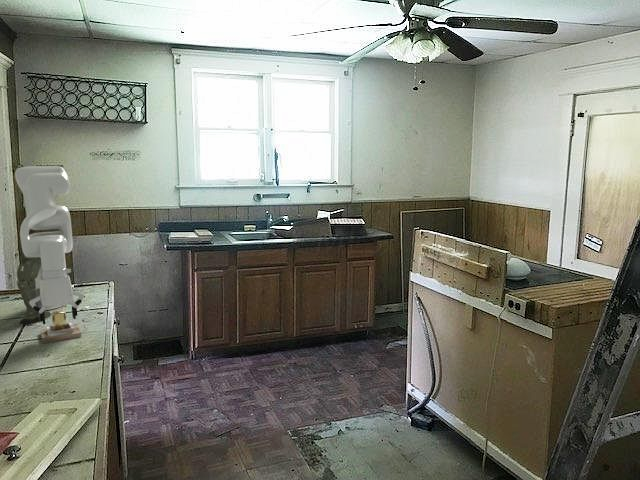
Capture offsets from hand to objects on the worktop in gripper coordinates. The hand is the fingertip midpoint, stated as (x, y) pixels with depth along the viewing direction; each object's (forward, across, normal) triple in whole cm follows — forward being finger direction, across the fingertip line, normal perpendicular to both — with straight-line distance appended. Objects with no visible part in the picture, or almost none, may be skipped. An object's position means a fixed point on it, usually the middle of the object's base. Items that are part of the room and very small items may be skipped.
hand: (59, 320), depth 182 cm
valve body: (+4, 0, 0) cm, 4 cm away
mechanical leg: (+6, +6, -26) cm, 27 cm away
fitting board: (+6, 0, 0) cm, 6 cm away
